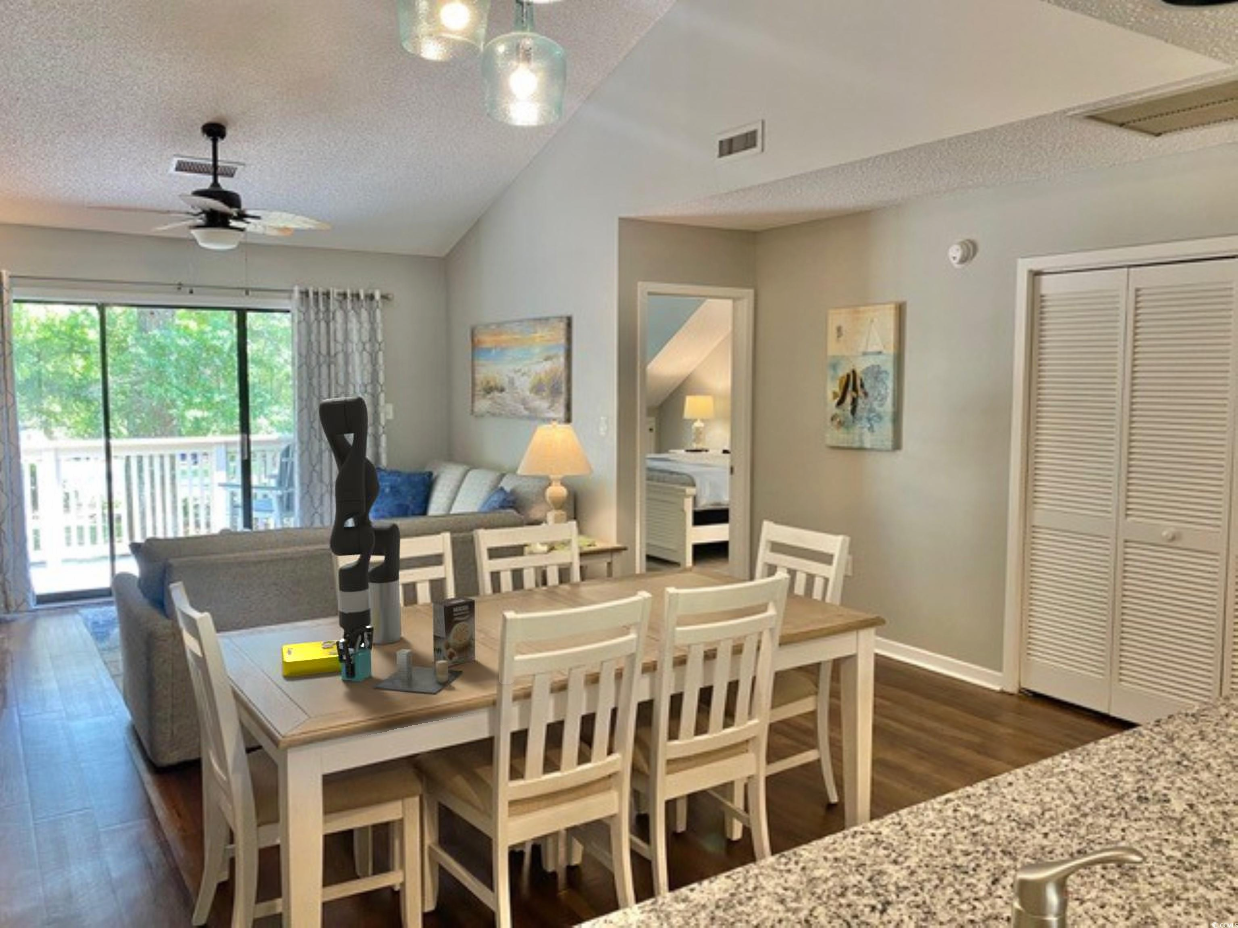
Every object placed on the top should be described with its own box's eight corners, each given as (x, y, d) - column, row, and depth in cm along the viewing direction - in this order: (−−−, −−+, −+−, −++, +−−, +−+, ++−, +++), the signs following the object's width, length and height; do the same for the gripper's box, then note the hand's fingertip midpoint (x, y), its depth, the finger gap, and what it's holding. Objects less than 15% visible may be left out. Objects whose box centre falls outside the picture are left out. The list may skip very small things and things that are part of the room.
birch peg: (439, 679, 223) (439, 659, 223) (449, 680, 223) (449, 660, 222) (434, 683, 221) (433, 663, 220) (445, 684, 220) (444, 664, 220)
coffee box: (446, 667, 233) (445, 606, 231) (432, 661, 237) (431, 601, 236) (476, 659, 239) (475, 599, 237) (462, 654, 244) (461, 595, 242)
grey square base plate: (405, 667, 233) (404, 640, 232) (463, 672, 229) (462, 645, 228) (373, 688, 218) (372, 659, 217) (435, 694, 214) (434, 665, 213)
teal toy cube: (352, 672, 228) (352, 647, 228) (371, 674, 227) (370, 648, 226) (341, 679, 223) (340, 653, 223) (360, 681, 222) (359, 655, 221)
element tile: (281, 660, 239) (281, 643, 239) (341, 654, 245) (340, 637, 244) (282, 678, 225) (282, 660, 225) (345, 671, 231) (345, 653, 230)
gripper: (356, 598, 231) (358, 663, 233) (324, 613, 217) (326, 682, 219) (382, 600, 229) (384, 666, 231) (352, 615, 216) (354, 685, 217)
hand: (356, 673), depth 225 cm, fingers closed on teal toy cube, 5 cm apart
